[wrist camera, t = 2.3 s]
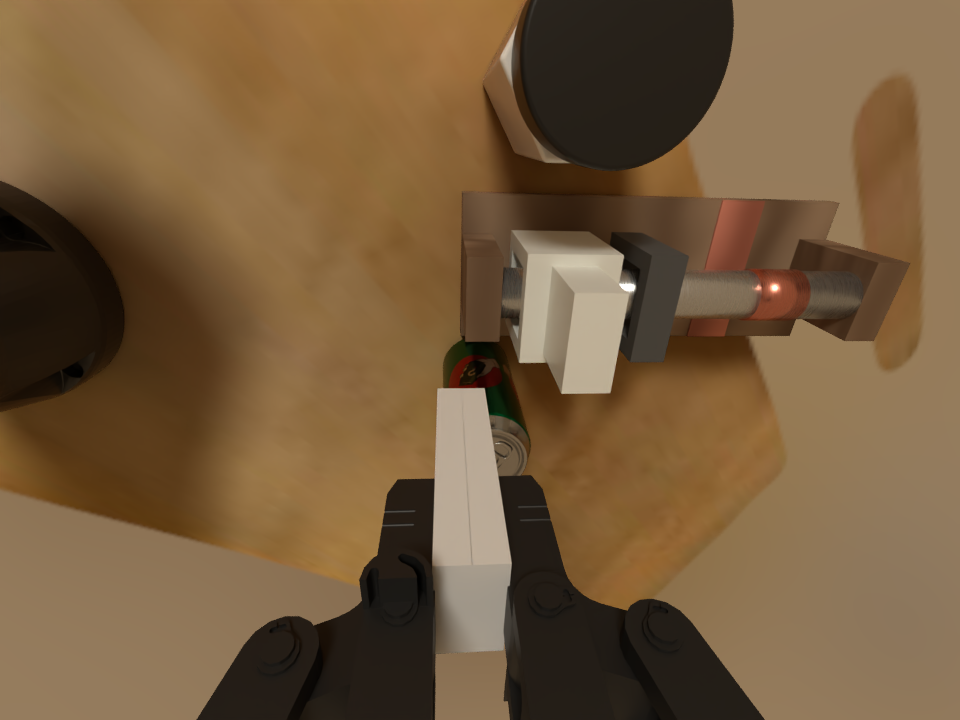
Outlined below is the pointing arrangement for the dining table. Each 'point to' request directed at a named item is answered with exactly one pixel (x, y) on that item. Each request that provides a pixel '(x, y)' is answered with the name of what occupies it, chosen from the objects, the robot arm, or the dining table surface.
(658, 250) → the dark grey square collar
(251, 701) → the robot arm
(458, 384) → the soda can
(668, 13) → the jar
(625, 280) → the pipe
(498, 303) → the stand
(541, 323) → the sleeve
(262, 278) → the dining table surface
